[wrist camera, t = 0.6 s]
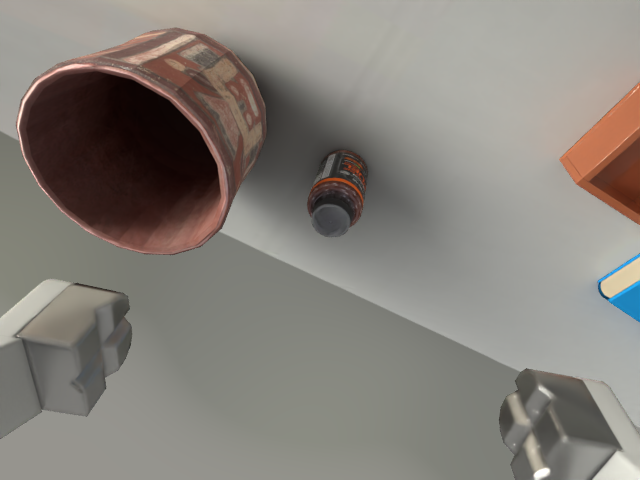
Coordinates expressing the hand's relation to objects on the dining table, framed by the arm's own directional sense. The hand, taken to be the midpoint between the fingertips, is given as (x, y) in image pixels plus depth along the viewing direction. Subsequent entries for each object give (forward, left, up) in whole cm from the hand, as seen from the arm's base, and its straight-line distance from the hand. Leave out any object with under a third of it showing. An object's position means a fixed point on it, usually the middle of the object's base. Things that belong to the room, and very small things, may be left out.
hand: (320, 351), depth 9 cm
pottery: (+8, -20, -40) cm, 46 cm away
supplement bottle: (+16, -4, -40) cm, 44 cm away
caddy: (+12, +27, -40) cm, 50 cm away
